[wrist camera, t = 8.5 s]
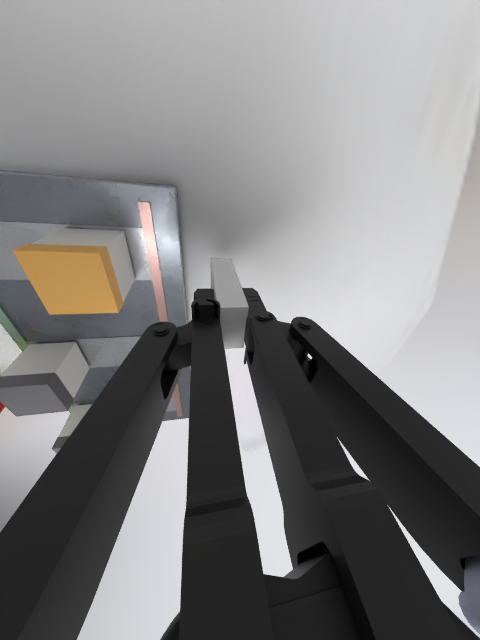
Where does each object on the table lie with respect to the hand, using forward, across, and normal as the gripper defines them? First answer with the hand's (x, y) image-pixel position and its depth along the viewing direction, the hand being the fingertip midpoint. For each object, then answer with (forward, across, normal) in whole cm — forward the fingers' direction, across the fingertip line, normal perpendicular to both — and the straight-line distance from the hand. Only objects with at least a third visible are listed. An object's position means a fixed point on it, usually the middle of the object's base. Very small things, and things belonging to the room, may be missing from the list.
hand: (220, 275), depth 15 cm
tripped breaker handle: (+3, -9, 0) cm, 10 cm away
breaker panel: (+6, -11, -11) cm, 17 cm away
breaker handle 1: (+3, -16, -11) cm, 20 cm away
